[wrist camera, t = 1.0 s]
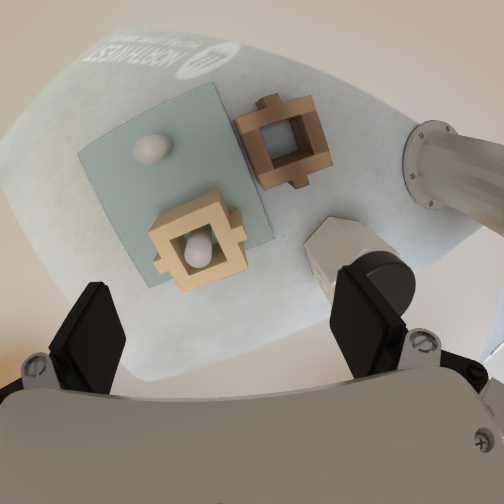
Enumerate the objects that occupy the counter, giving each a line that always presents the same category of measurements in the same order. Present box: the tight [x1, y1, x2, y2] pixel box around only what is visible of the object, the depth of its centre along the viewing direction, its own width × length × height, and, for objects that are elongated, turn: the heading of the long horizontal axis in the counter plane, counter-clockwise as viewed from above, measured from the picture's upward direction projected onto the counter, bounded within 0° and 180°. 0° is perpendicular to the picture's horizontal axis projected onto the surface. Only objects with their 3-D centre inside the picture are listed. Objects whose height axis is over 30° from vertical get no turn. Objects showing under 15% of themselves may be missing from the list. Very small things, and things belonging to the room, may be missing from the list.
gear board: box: [77, 82, 275, 293], centre depth 25 cm, size 16×18×8 cm
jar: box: [304, 217, 416, 317], centre depth 28 cm, size 9×8×12 cm
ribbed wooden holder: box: [233, 93, 333, 190], centre depth 25 cm, size 7×9×5 cm
